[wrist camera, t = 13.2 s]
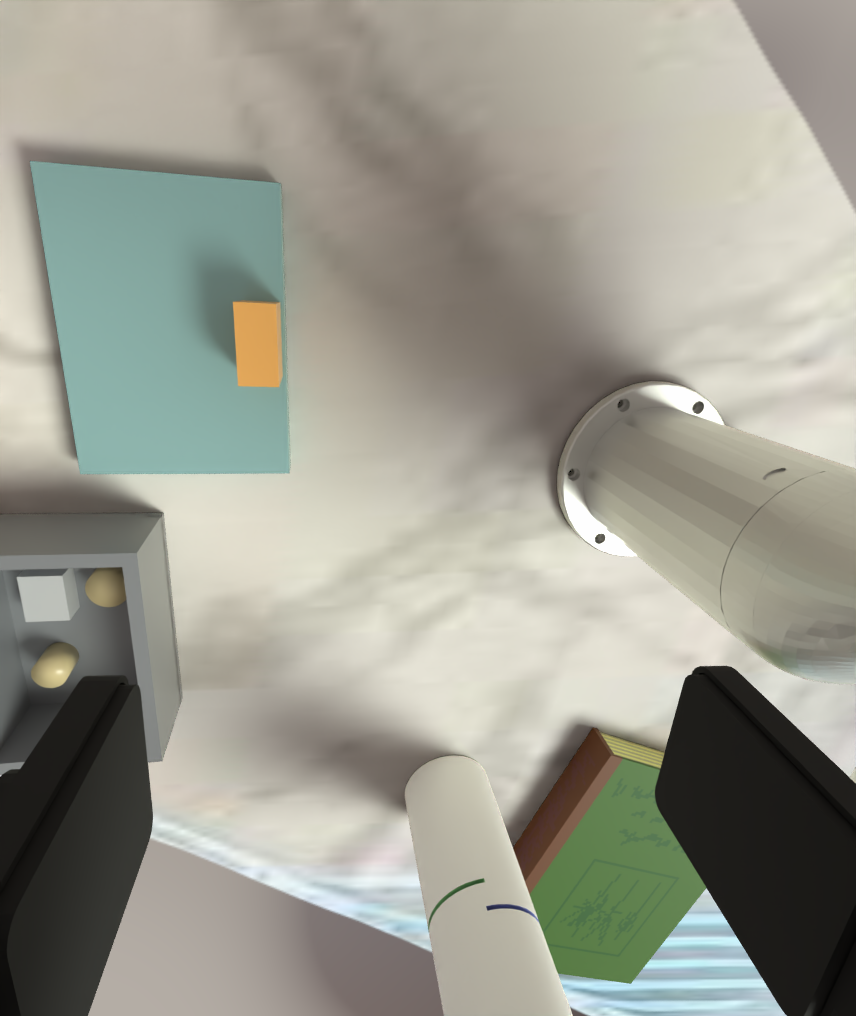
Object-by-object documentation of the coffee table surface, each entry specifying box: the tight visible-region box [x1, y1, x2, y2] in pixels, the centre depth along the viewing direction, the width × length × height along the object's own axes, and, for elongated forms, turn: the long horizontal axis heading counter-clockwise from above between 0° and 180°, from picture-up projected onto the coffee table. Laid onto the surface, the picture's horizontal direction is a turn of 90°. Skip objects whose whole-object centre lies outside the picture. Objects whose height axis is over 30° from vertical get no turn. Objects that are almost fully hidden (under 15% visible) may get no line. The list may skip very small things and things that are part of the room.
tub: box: [0, 513, 182, 775], centre depth 35 cm, size 10×14×6 cm
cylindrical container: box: [405, 755, 573, 1016], centre depth 37 cm, size 7×7×25 cm
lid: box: [30, 161, 290, 474], centre depth 30 cm, size 12×16×6 cm
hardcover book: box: [513, 727, 706, 984], centre depth 54 cm, size 25×19×4 cm
